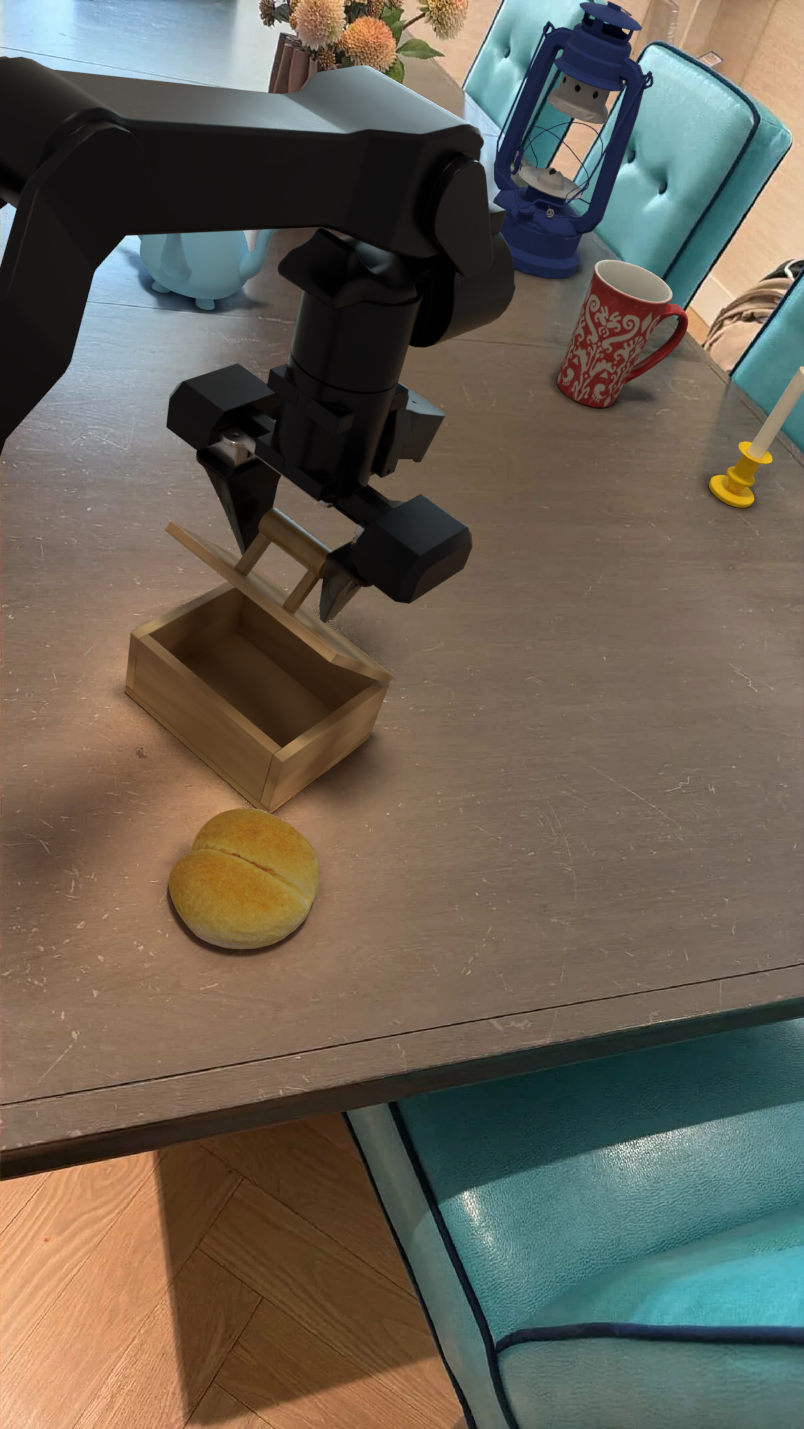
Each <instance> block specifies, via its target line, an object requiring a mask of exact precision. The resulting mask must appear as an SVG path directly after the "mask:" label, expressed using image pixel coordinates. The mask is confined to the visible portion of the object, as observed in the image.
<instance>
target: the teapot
mask: <svg viewBox="0 0 804 1429" xmlns="http://www.w3.org/2000/svg"><path fill="white" fill-rule="evenodd" d="M280 230H281V229H267V230H259V233H258V235H257V238H256V243H255V245H254V248H253V250H252V251H251V252H250V250H249V244H248V241H247V237H246V234H245V232H244V231H222V232H200V233H177V234H155V235H136V236H137V237H138V239H139V240H140V245H139V257H140V260H141V262H142V264H143V265H144V268H145V269H146V271H147V272H148V273H149V274H150V276H151V277H152V278H153V280H154V282H153V283H152V284H151V288H152V290H154V291H155V292H158V293H161V294H168V293H170V292H171V291H172V292H174V293H176V294H179V295H182V296H186V297H188V298H194V299H195V306H197V308H199V309H202V310H206V311H211V310H215V301H214V300H220V299H225V298H228V297H230V296H232V295H233V294H235V293H236V292H238V291H239V290H240V289H241V288H242V287H244V286H245V285H246V284H247V282H248V280H251V279H253V278H255V277H256V276H257V275H258V274H260V272H261V271H262V269H263V267H264V265H265V262H266V259H267V254H268V249H269V245H270V242H271V239H272V237H273V235H275V233H276V232H278V231H280Z"/></svg>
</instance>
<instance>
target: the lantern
mask: <svg viewBox="0 0 804 1429" xmlns="http://www.w3.org/2000/svg"><path fill="white" fill-rule="evenodd" d="M606 3H607V4H603V3H597V2H591V1H584V2H580V3H579V7H580V8H581V9H582V10H583V11H584V12H583V16H582V19H581V20H580V22H579V23H576V24H575V25H574V26H573V28H572V29H571V28H568V27H565V26H559V27H557V28H556V26H555V25H554V24H553V23H552V22H551V21H550V20H548V21H547V22H546V23H545V25H544V26H543V27H542V33H541V35H540V38H539V40H538V42H537V45H536V47H535V49H534V52H533V54H532V57H531V59H530V62H529V64H528V66H527V69H526V71H525V73H524V76H523V78H522V79H521V82H520V85H519V87H518V90H517V92H516V95H515V97H514V99H513V101H512V104H511V106H510V109H509V111H508V114H507V116H506V118H505V120H504V121H505V122H503V126H502V128H501V130H500V133H499V135H498V137H497V140H496V146H495V147H496V148H495V159H494V161H493V162H494V163H493V181H494V184H495V185H496V187H497V190H499V192H498V193H497V194H496V195H495V197H494V198H493V201H492V203H494V204H496V205H498V206H499V207H501V208H503V209H504V210H506V216H505V219H504V222H503V225H502V228H501V231H500V233H501V234H502V235H503V237H504V239H505V241H506V242H507V244H508V246H509V249H510V252H511V255H512V258H513V263H514V270H517V271H518V272H521V273H523V274H527V275H530V276H535V277H538V278H542V279H552V280H562V279H568V278H570V277H572V276H573V275H574V274H576V273H577V270H578V267H579V263H580V260H581V258H580V254H579V252H578V247H579V245H580V242H581V239H582V237H583V235H584V234H585V235H586V234H590V233H591V232H593V231H594V230H595V229H596V228H597V227H598V226H599V225H600V223H601V222H602V221H603V220H604V217H605V213H606V211H607V207H608V204H609V202H610V199H611V197H612V193H613V190H614V187H615V184H616V182H617V178H618V175H619V172H620V169H621V167H622V163H623V160H624V157H625V154H626V152H627V148H628V145H629V142H630V141H631V140H630V139H631V137H632V133H633V131H634V128H635V125H636V122H637V118H638V115H639V112H640V108H641V104H642V100H643V96H644V92H645V90H647V89H649V88H652V87H653V85H654V82H655V81H654V76H653V71H651V70H648V71H647V73H644V72H643V68H642V66H641V64H640V63H638V62H637V61H635V60H634V59H632V58H631V57H630V56H631V53H632V50H633V49H632V48H633V47H632V44H631V42H630V40H631V39H632V37H633V34H634V32H639V31H642V29H643V27H642V25H641V24H640V23H639V21H638V20H635V19H634V18H633V17H632V16H633V14H632V13H631V12H629V11H628V10H626V9H625V8H624V7H623V6H621V5H618V4H617V3H614V2H612V1H609V0H607V1H606ZM589 15H590V16H591V17H593V18H594V19H593V18H591V17H589ZM623 29H624V30H628V31H629V32H628V33H627V32H626V31H624V30H623ZM549 30H550V31H549ZM561 50H562V53H561V55H560V56H559V57H557V55H558V53H559V52H560V51H561ZM553 65H555V67H556V68H557V69H558V70H559V71H561V73H563V74H562V76H561V80H560V82H559V85H558V86H557V87H556V88H553V89H552V90H551V91H550V93H549V94H548V96H547V98H546V100H547V102H548V104H549V105H550V106H552V107H553V108H554V109H556V110H557V111H558V112H560V113H562V114H564V115H565V116H568V117H571V118H573V119H576V120H579V121H581V122H578V121H567V122H562V123H559V124H557V125H554V126H551V127H549V128H547V129H546V128H545V127H541V126H538V125H531V126H530V127H528V126H529V123H530V121H531V118H532V116H533V114H534V111H535V108H536V106H537V104H538V102H539V100H540V97H541V94H542V92H543V89H544V87H545V85H546V82H547V81H548V78H549V75H550V72H551V70H552V68H553ZM648 83H649V84H648ZM647 84H648V85H647ZM611 92H624V93H623V96H622V99H621V103H620V106H619V108H618V111H617V115H616V118H615V120H614V124H613V128H612V130H611V135H610V137H609V141H608V143H607V145H606V146H605V148H604V142H603V139H602V136H601V134H599V132H598V131H597V130H596V129H595V128H594V127H592V126H591V125H589V124H594V125H604V124H607V122H608V120H609V118H608V116H609V109H608V107H607V102H608V99H609V96H610V94H611ZM513 110H514V111H513ZM512 112H513V113H512ZM511 115H512V116H511ZM510 117H511V118H510ZM509 120H510V121H509ZM508 122H509V124H508ZM583 122H584V123H583ZM586 123H589V124H586ZM566 124H579V125H583V126H585V127H588V128H590V129H592V130H593V131H594V132H595V134H596V135H597V136H598V137H599V140H600V142H601V152H600V156H599V159H598V160H597V163H596V164H595V166H594V168H593V170H592V172H591V173H590V175H589V172H588V171H587V168H586V167H585V165H584V164H583V162H582V161H581V160H580V158H579V157H578V156H577V155H576V153H575V152H574V150H572V148H571V147H570V146H569V145H568V144H567V143H566V142H565V141H564V140H562V139H561V138H560V137H559V136H558V135H556V134H555V133H554V132H552V131H551V130H552V129H554V128H557V127H559V126H563V125H566ZM507 125H508V126H507ZM506 127H507V128H506ZM527 128H528V130H527ZM532 128H538V129H541V130H543V131H541V132H540V133H538V134H537V135H535V136H534V137H533V138H532V139H530V135H529V132H530V130H532ZM505 129H506V130H505ZM505 131H506V132H505ZM526 131H527V132H526ZM504 132H505V133H504ZM545 132H548V133H549V134H551V135H553V136H554V137H555V138H556V139H558V140H559V141H560V142H561V143H562V144H563V145H565V146H566V148H567V149H568V150H570V151H571V153H572V154H573V156H574V157H575V158H576V160H577V161H578V162H579V164H580V165H581V166H582V168H583V169H584V171H585V173H586V176H587V179H586V180H585V181H583V182H582V183H581V184H580V185H578V184H577V183H576V182H574V181H573V180H571V179H570V178H569V177H566V176H565V175H564V174H563V173H562V172H561V171H560V170H559V171H558V170H557V169H556V168H555V167H552V166H551V167H547V168H543V167H539V166H538V165H539V162H538V157H537V155H536V153H535V151H534V148H533V145H532V143H533V142H534V140H536V139H537V137H539V136H541V135H542V134H544V133H545ZM525 133H526V134H527V139H528V142H529V143H528V144H527V146H526V147H525V148H524V147H522V146H521V145H522V143H523V137H524V136H525ZM503 134H504V137H503V139H502V136H503ZM501 139H502V142H501V144H500V140H501ZM529 146H530V147H531V148H530V149H531V151H532V154H533V156H534V158H535V162H536V165H535V166H531V165H526V166H523V165H522V160H523V157H524V154H525V152H526V151H527V150H528V147H529ZM517 153H518V154H517ZM601 162H602V164H601ZM512 164H513V170H512ZM600 164H601V167H600V169H599V173H598V176H597V178H596V182H595V186H594V188H593V192H592V195H591V198H590V202H589V201H587V200H585V199H583V198H582V197H583V196H584V192H585V191H586V190H588V188H589V186H590V182H591V180H592V178H593V176H594V174H595V173H596V171H597V169H598V168H599V166H600ZM517 174H518V176H519V178H520V179H521V180H522V181H523V182H524V183H525V184H527V186H519V185H518V184H516V182H515V181H514V179H513V178H512V176H516V175H517ZM583 185H584V186H583ZM581 186H583V187H582V188H581ZM575 200H579V201H581V202H583V203H585V204H587V205H588V208H587V210H586V211H585V212H584V214H582V215H579V214H578V213H577V211H575V210H574V208H573V207H572V206H571V205H570V203H571V202H572V201H575Z"/></svg>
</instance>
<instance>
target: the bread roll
mask: <svg viewBox="0 0 804 1429" xmlns="http://www.w3.org/2000/svg"><path fill="white" fill-rule="evenodd" d="M193 840H194V841H193V842H192V846H191V850H190V852H189V853H188V854H186V855H184V856H182V857H181V858H180V859H179V860H178V861H176V862H175V864H174V866H173V867H172V869H171V870H170V872H169V877H168V890H169V895H170V898H171V901H172V903H173V906H174V907H175V910H176V911H177V914H178V916H180V918H181V919H182V920H183V922H184V923H185V925H186V926H187V927H188V929H189V930H190V931H191V932H192V933H193V934H194V936H196V937H197V938H199V939H201V940H202V941H204V942H207V943H208V944H211V945H213V946H218V947H221V948H224V949H233V950H251V949H258V948H263V947H268V946H271V945H274V944H276V943H278V942H280V941H282V940H283V939H285V938H287V936H289V935H290V934H291V933H292V932H295V930H297V929H298V927H300V926H301V924H302V923H303V922H305V920H306V918H307V916H308V915H309V913H310V910H311V908H312V905H313V903H314V901H315V899H316V896H317V893H318V891H319V884H320V862H319V858H318V856H317V853H316V851H315V849H314V846H313V845H312V844H311V843H310V841H309V840H308V839H307V838H306V837H305V835H304V834H302V833H301V832H300V831H299V830H297V828H295V827H294V826H293V825H291V823H290V822H288V821H285V820H283V819H282V818H281V817H278V816H277V815H274V814H273V813H271V814H270V813H268V812H266V811H264V810H259V809H257V808H246V807H245V808H244V807H243V808H235V809H229V810H225V811H223V812H220V813H218V814H216V815H214V816H213V817H211V818H210V819H209V820H208V821H207V822H205V823H204V825H203V826H202V827H201V828H200V829H199V831H198V833H196V836H195V838H194V839H193Z"/></svg>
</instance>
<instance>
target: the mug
mask: <svg viewBox="0 0 804 1429" xmlns="http://www.w3.org/2000/svg"><path fill="white" fill-rule="evenodd" d="M592 273H593V274H592V277H591V280H590V283H589V286H588V288H587V291H586V294H585V297H584V300H583V302H582V306H581V308H580V312H579V314H578V318H577V321H576V323H575V326H574V329H573V332H572V335H571V336H570V340H569V344H568V345H567V349H566V351H565V355H564V357H563V361H562V363H561V364H560V368H559V372H558V375H557V378H556V384H557V386H558V388H559V390H560V391H561V392H562V393H563V394H564V395H566V396H567V398H569V399H571V400H573V401H575V402H577V403H578V404H581V405H585V406H587V407H591V408H607V407H608V408H609V407H611V406H612V405H613V404H614V403H615V402H616V400H617V398H618V397H619V394H620V393H621V391H622V389H623V386H624V385H626V384H628V383H629V382H631V381H633V380H635V379H637V378H638V377H640V376H642V375H643V374H645V373H647V372H648V371H649V370H651V369H652V368H654V367H655V366H657V365H658V364H660V363H661V362H662V361H663V360H665V359H666V358H667V357H668V356H669V355H670V354H671V353H672V352H674V350H675V349H676V348H677V347H678V346H679V344H680V343H681V342H682V340H683V338H684V337H685V335H686V333H687V330H688V326H689V317H688V315H687V313H686V311H685V310H684V308H683V307H682V306H680V305H678V304H675V303H670V302H671V301H672V300H673V296H674V294H673V291H672V289H671V287H670V286H669V284H667V283H666V282H665V281H664V280H663V279H662V278H661V277H660V276H658V275H656V274H655V273H654V272H651V271H650V270H648V269H646V268H644V267H642V266H639V265H636V264H633V263H630V262H628V261H627V262H626V261H623V260H616V259H603V260H599V261H598V262H596V263H595V264H594V267H593V272H592ZM672 316H676V317H678V321H677V325H676V327H675V329H674V331H673V333H672V334H671V335H670V337H669V338H668V339H666V341H665V342H664V343H663V344H662V345H661V346H660V347H658V349H656V350H655V351H654V352H651V354H649V355H648V356H646V357H645V358H644V359H642V360H641V361H639V362H637V360H638V358H639V357H640V355H641V353H642V352H643V349H644V348H645V346H646V344H647V342H648V340H649V338H650V336H651V335H652V333H653V332H654V329H655V328H657V326H658V325H659V324H660V323H661V322H662V321H664V320H665V319H667V318H669V317H672Z"/></svg>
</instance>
